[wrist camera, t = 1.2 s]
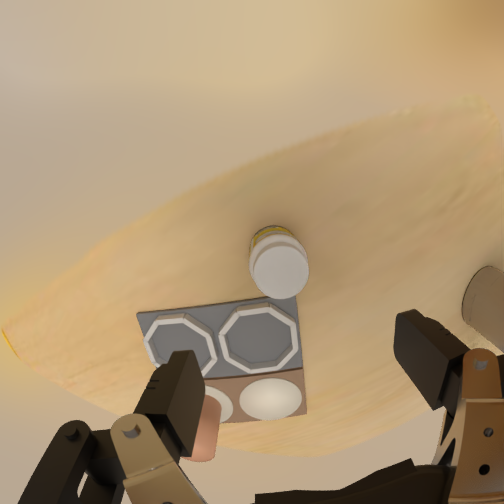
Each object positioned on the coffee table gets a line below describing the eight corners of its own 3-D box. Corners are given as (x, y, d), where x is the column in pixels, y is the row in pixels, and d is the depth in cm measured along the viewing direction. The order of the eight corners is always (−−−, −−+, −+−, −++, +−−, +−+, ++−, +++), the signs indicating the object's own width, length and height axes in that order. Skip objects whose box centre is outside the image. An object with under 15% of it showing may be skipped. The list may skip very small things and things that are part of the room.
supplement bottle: (283, 278, 28) (293, 314, 20) (241, 259, 27) (236, 288, 19) (305, 237, 27) (326, 258, 19) (263, 216, 26) (266, 228, 18)
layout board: (294, 292, 28) (309, 334, 20) (306, 411, 32) (315, 459, 24) (137, 312, 29) (103, 352, 21) (182, 421, 33) (169, 465, 25)
